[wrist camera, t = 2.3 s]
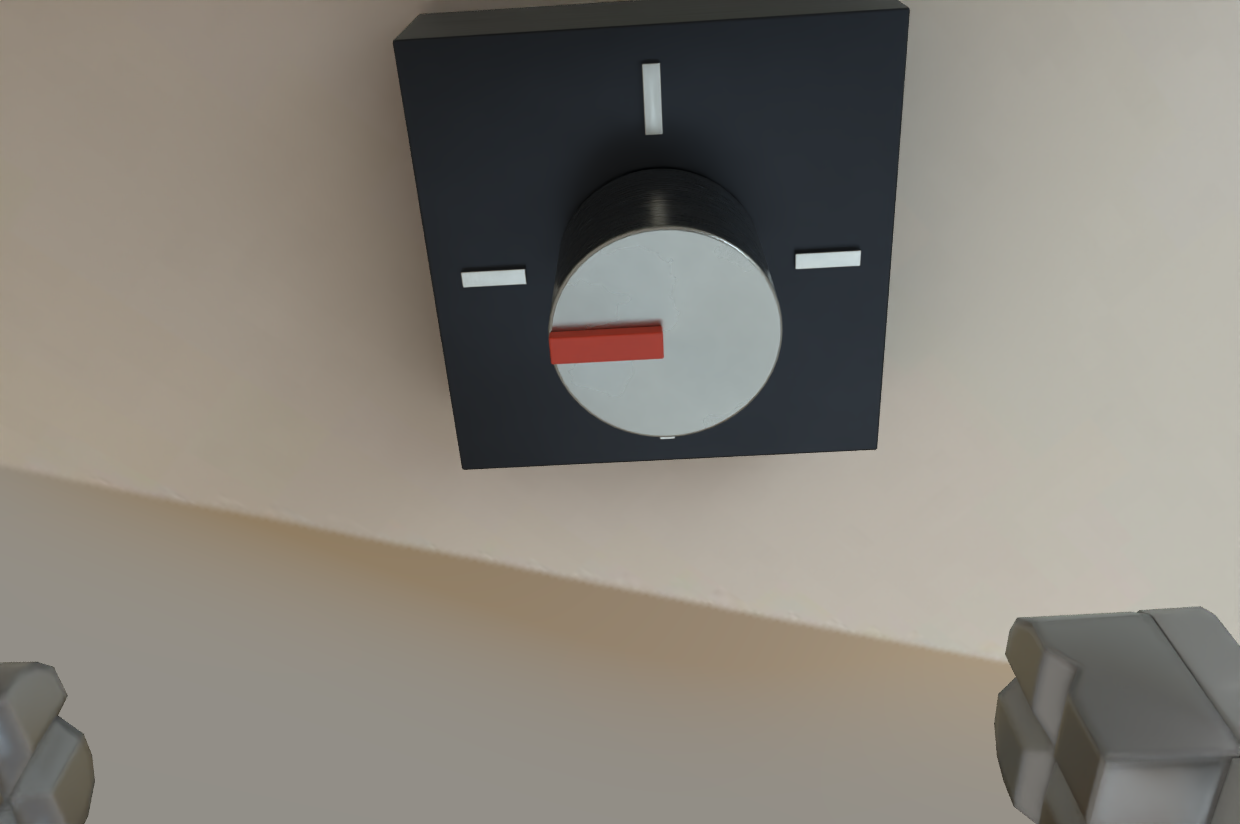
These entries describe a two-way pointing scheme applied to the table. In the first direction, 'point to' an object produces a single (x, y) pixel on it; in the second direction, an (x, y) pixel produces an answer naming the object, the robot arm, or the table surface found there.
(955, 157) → the table surface
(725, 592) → the table surface
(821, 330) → the panel
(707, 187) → the knob
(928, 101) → the table surface
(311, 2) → the table surface
